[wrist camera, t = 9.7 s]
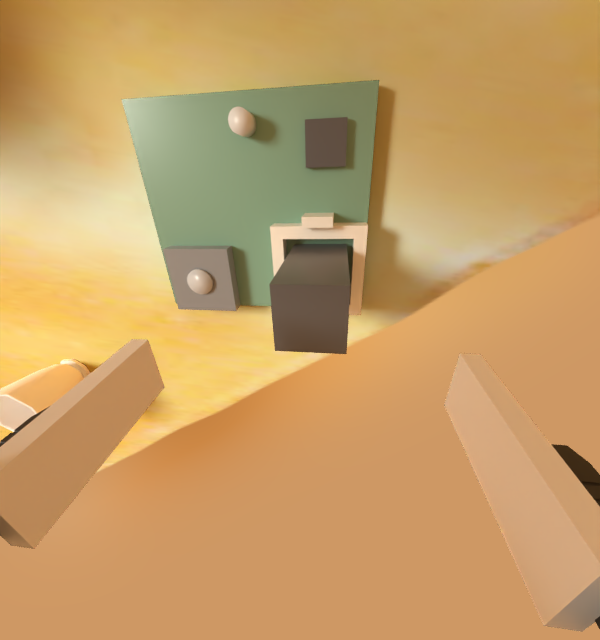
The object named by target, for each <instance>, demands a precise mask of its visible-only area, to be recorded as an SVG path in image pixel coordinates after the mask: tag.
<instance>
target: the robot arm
mask: <svg viewBox="0 0 600 640" xmlns="http://www.w3.org/2000/svg"><path fill="white" fill-rule="evenodd" d="M163 388H164V384H163V382H162V379H161V376H160V373H159V370H158V367H157V364H156V361H155V359H154V356H153V353H152V350H151V347H150V344H149V341H148V340H140V339H132V340H131V341H129V342H128V343H127V344H126V345H124V346H123V347H122V348H121V349H120V350H118V351H117V352H116V353H115V354H113V355H112V356H111V357H110V358H109V359H107V360H106V361H105V362H104V363H102V364H101V365H100V366H99V367H98V368H96V369H95V370H94V371H93V372H91V373H90V374H89V375H88V376H87V377H85V378H84V379H83V380H82V381H80V382H79V383H78V384H77V385H75V386H74V387H73V388H72V389H71V390H69V391H68V392H67V393H66V394H64V395H63V396H62V397H61V398H60V399H58V400H57V401H56V402H55V403H53V404H52V405H51V406H49V407H47V408H46V409H44V410H42V411H40V412H39V413H37V414H35V415H33V416H32V417H30V418H29V419H28V420H26V421H25V422H24V423H23V424H21V425H20V426H19V427H18V428H16V429H15V430H14V432H13V433H10V434H9V435H8V436H6V437H5V438H4V439H3V440H1V441H0V536H2V538H4V539H5V540H6V541H7V542H8V543H9V544H10V545H12V546H19V547H26V548H32V549H35V547H36V546H37V545H38V544H39V542H40V541H41V540H42V539H43V537H44V536H45V535H46V534H47V533H48V531H49V530H50V529H51V528H52V526H53V525H54V524H55V522H56V521H57V520H58V519H59V518H60V516H61V515H62V514H63V513H64V511H65V510H66V509H67V508H68V506H69V505H70V504H71V503H72V501H73V500H74V499H75V498H76V496H77V495H78V494H79V493H80V491H81V490H82V489H83V488H84V486H85V485H86V484H87V483H88V481H89V480H90V479H91V478H92V476H93V475H94V474H95V473H96V472H97V470H98V469H99V468H100V467H101V465H102V464H103V463H104V462H105V460H106V459H107V458H108V457H109V455H110V454H111V453H112V452H113V450H114V449H115V448H116V447H117V445H118V444H119V443H120V442H121V440H122V439H123V438H124V437H125V435H126V434H127V433H128V432H129V431H130V429H131V428H132V427H133V426H134V424H135V423H136V422H137V421H138V419H139V418H140V417H141V416H142V414H143V413H144V412H145V411H146V409H147V408H148V407H149V406H150V404H151V403H152V402H153V401H154V399H155V398H156V397H157V396H158V394H159V393H160V392H161V391H162V389H163ZM444 406H445V408H446V411H447V413H448V415H449V417H450V419H451V422H452V424H453V426H454V428H455V430H456V432H457V435H458V437H459V439H460V441H461V444H462V446H463V448H464V450H465V452H466V455H467V457H468V459H469V461H470V464H471V466H472V468H473V470H474V472H475V474H476V477H477V479H478V481H479V484H480V486H481V488H482V490H483V492H484V495H485V497H486V499H487V501H488V503H489V505H490V508H491V510H492V512H493V514H494V517H495V519H496V521H497V523H498V526H499V528H500V530H501V532H502V534H503V536H504V539H505V541H506V543H507V545H508V548H509V550H510V552H511V554H512V556H513V559H514V561H515V563H516V565H517V568H518V570H519V572H520V574H521V576H522V579H523V581H524V583H525V585H526V587H527V589H528V592H529V594H530V596H531V598H532V600H533V603H534V605H535V607H536V610H537V612H538V614H539V616H540V618H541V620H542V622H543V625H544V626H548V627H555V628H562V629H568V630H576V631H583V630H585V629H586V628H587V627H589V626H590V625H592V624H593V623H594V622H596V623H597V625H598V627H599V629H600V475H599V473H598V472H597V471H596V470H595V469H594V468H593V466H592V465H591V464H590V463H589V462H588V461H586V460H585V459H583V458H582V457H581V456H580V455H578V454H577V453H576V452H575V451H573V450H572V449H571V448H569V447H568V446H565V445H552V444H550V442H549V441H548V440H547V439H546V437H545V436H544V435H543V433H542V432H541V431H540V430H539V428H538V427H537V426H536V424H535V423H534V422H533V420H532V419H531V418H530V417H529V415H528V414H527V413H526V412H525V410H524V409H523V408H522V406H521V405H520V404H519V402H518V401H517V400H516V399H515V397H514V396H513V395H512V393H511V392H510V391H509V390H508V388H507V387H506V386H505V385H504V383H503V382H502V381H501V379H500V378H499V377H498V376H497V374H496V373H495V372H494V370H493V369H492V368H491V367H490V365H489V364H488V363H487V361H486V360H485V359H484V358H483V356H482V355H481V354H467V353H460V354H459V357H458V360H457V364H456V367H455V370H454V374H453V377H452V380H451V384H450V387H449V390H448V394H447V397H446V400H445V404H444Z"/></svg>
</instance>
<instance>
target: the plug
mask: <svg viewBox="0 0 600 640" xmlns="http://www.w3.org/2000/svg"><path fill="white" fill-rule="evenodd" d="M269 286H270V298H271V309H272V320H273V332H274V343H275V351H294V352H314V353H335V354H346V350H347V334H348V318H349V301H350V276H349V265H348V255H347V244H294V246H293V248H292V249H291V251H290V252H289V254H288V255H287V257H286V259H285V260H284V262H283V263H282V265H281V267H280V268H279V270H278V271H277V273H276V275H275V276H274V278H273V279H272V281H271V282H270V284H269Z"/></svg>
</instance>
